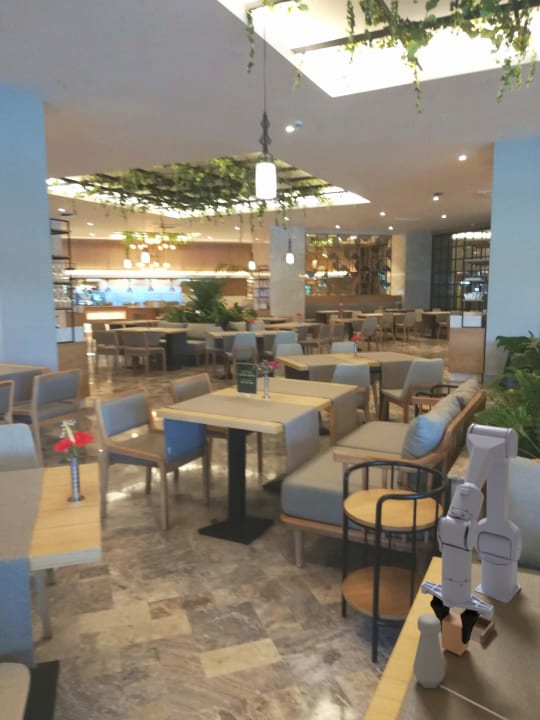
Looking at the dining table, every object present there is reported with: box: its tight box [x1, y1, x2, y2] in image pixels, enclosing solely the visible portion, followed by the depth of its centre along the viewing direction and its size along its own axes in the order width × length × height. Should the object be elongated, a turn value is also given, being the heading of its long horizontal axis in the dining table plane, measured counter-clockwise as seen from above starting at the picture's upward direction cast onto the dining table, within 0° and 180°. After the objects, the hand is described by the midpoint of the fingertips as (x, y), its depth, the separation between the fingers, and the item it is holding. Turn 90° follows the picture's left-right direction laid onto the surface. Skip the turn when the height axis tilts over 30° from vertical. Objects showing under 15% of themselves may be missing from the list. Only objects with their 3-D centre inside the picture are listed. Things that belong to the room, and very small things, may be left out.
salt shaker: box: [412, 613, 446, 690], centre depth 101 cm, size 6×6×13 cm
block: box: [441, 611, 470, 656], centre depth 110 cm, size 4×4×6 cm
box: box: [458, 608, 496, 644], centre depth 116 cm, size 6×7×2 cm
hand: (455, 636), depth 110 cm, fingers closed on block, 4 cm apart
